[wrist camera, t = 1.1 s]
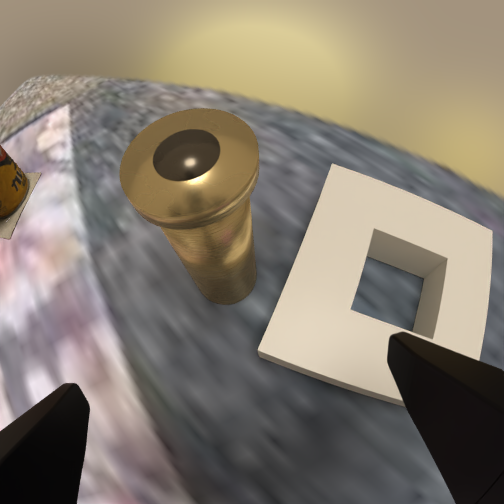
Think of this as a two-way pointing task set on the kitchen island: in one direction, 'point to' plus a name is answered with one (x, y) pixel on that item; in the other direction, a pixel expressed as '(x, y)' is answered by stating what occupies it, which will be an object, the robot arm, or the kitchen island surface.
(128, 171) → the brass bushing
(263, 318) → the kitchen island surface
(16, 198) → the condiment
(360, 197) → the jig plate
